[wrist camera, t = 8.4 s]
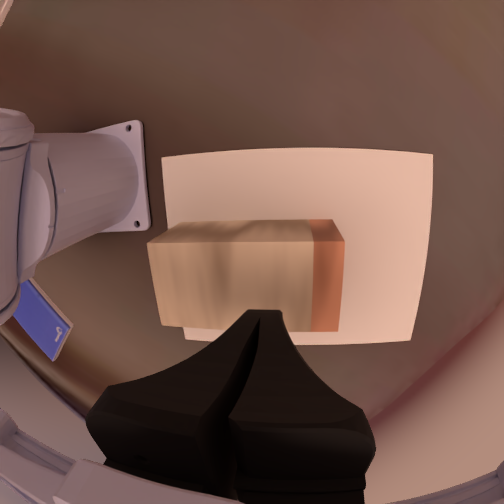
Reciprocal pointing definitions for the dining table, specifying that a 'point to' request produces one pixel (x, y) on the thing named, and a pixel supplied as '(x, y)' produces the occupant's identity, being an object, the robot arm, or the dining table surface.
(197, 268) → the birch block
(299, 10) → the dining table surface
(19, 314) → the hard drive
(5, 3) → the plate stack
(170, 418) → the robot arm
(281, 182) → the beige mat
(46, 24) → the dining table surface
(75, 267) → the dining table surface
